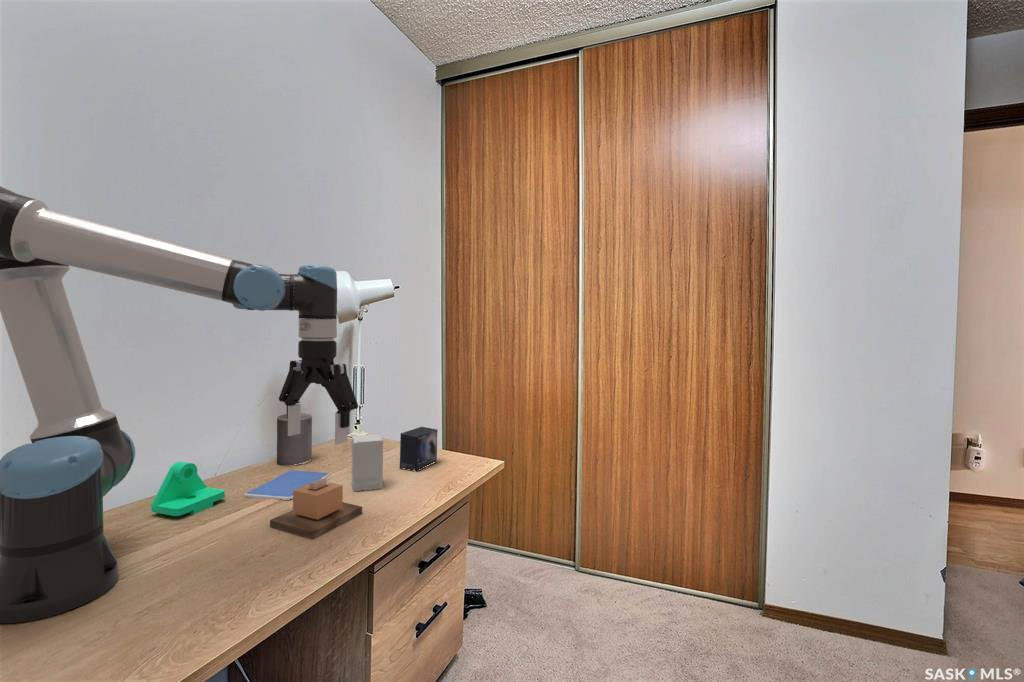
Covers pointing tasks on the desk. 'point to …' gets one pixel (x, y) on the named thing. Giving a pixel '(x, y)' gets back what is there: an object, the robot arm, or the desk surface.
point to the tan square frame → (317, 500)
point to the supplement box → (367, 462)
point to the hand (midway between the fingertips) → (317, 438)
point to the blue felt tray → (285, 485)
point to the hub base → (313, 526)
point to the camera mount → (184, 492)
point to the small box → (418, 448)
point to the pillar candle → (294, 441)
